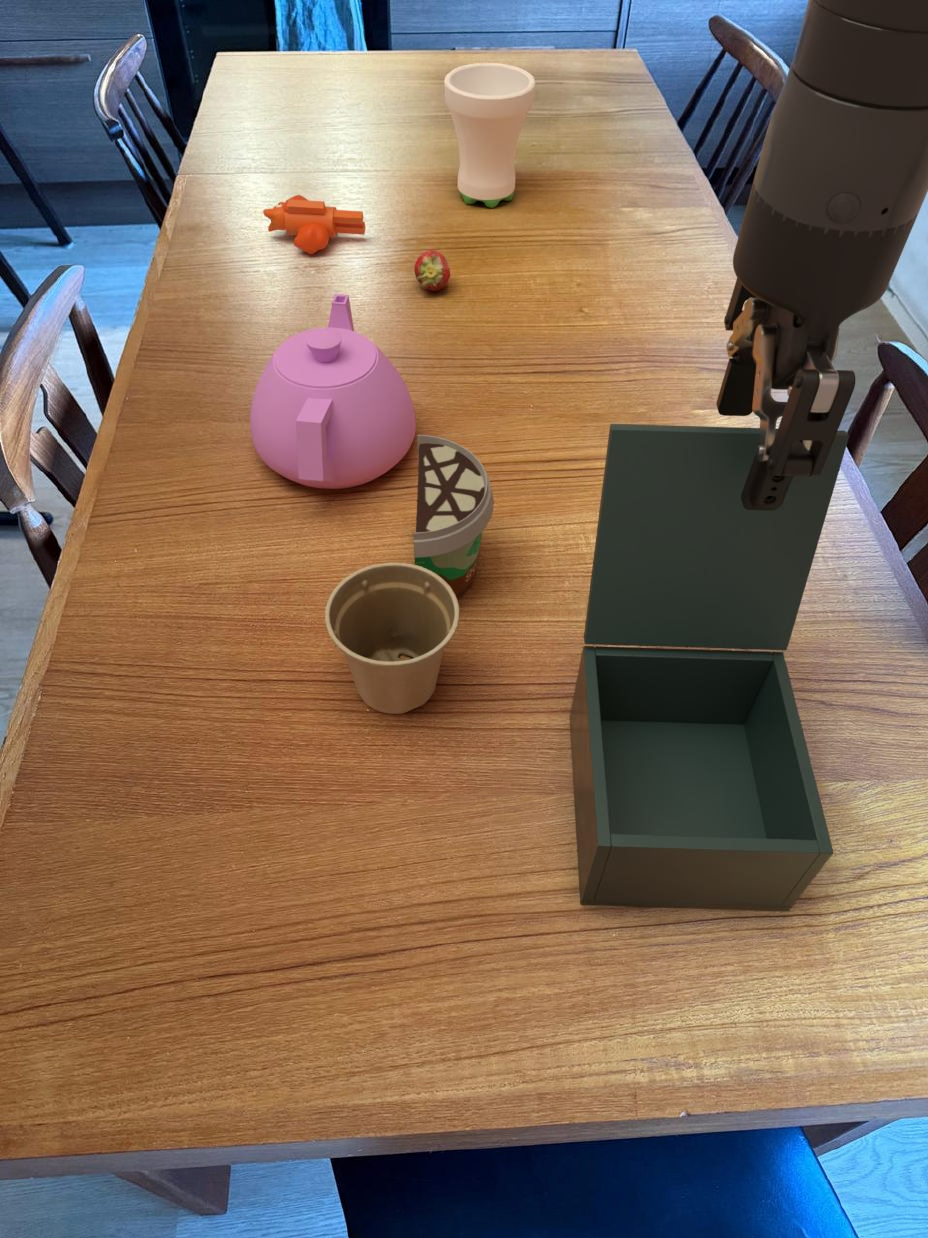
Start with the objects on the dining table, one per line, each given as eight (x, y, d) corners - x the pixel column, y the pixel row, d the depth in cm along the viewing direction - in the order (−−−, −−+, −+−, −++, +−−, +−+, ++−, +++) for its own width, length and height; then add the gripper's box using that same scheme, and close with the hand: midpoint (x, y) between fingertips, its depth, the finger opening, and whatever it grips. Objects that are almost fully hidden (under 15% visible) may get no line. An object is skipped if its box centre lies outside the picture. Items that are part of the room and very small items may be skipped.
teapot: (407, 527, 80) (402, 418, 71) (234, 520, 80) (206, 411, 71) (424, 379, 94) (421, 272, 85) (276, 373, 94) (257, 266, 85)
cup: (544, 197, 120) (554, 81, 109) (484, 224, 115) (488, 105, 104) (487, 168, 125) (491, 54, 114) (427, 193, 120) (425, 76, 109)
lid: (850, 435, 51) (845, 429, 52) (611, 428, 51) (610, 423, 52) (787, 651, 60) (783, 643, 61) (584, 644, 60) (583, 637, 61)
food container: (491, 625, 73) (497, 539, 65) (416, 624, 73) (413, 538, 65) (488, 519, 81) (492, 431, 73) (420, 518, 81) (417, 430, 73)
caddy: (788, 911, 58) (834, 853, 52) (580, 905, 58) (597, 845, 52) (749, 721, 68) (783, 651, 61) (569, 716, 68) (583, 645, 61)
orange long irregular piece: (364, 189, 108) (266, 184, 109) (355, 238, 106) (255, 232, 106) (368, 221, 113) (275, 216, 114) (361, 268, 110) (265, 262, 111)
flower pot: (449, 628, 73) (449, 555, 66) (466, 726, 67) (468, 657, 60) (333, 640, 72) (321, 567, 65) (339, 740, 66) (327, 671, 59)
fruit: (453, 274, 107) (454, 234, 103) (447, 301, 104) (448, 260, 100) (418, 271, 108) (417, 231, 104) (411, 299, 104) (410, 258, 100)
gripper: (972, 268, 37) (836, 544, 49) (877, 120, 46) (782, 386, 58) (789, 262, 37) (700, 540, 49) (730, 116, 46) (667, 382, 58)
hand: (745, 456), depth 54 cm, fingers open, 8 cm apart
